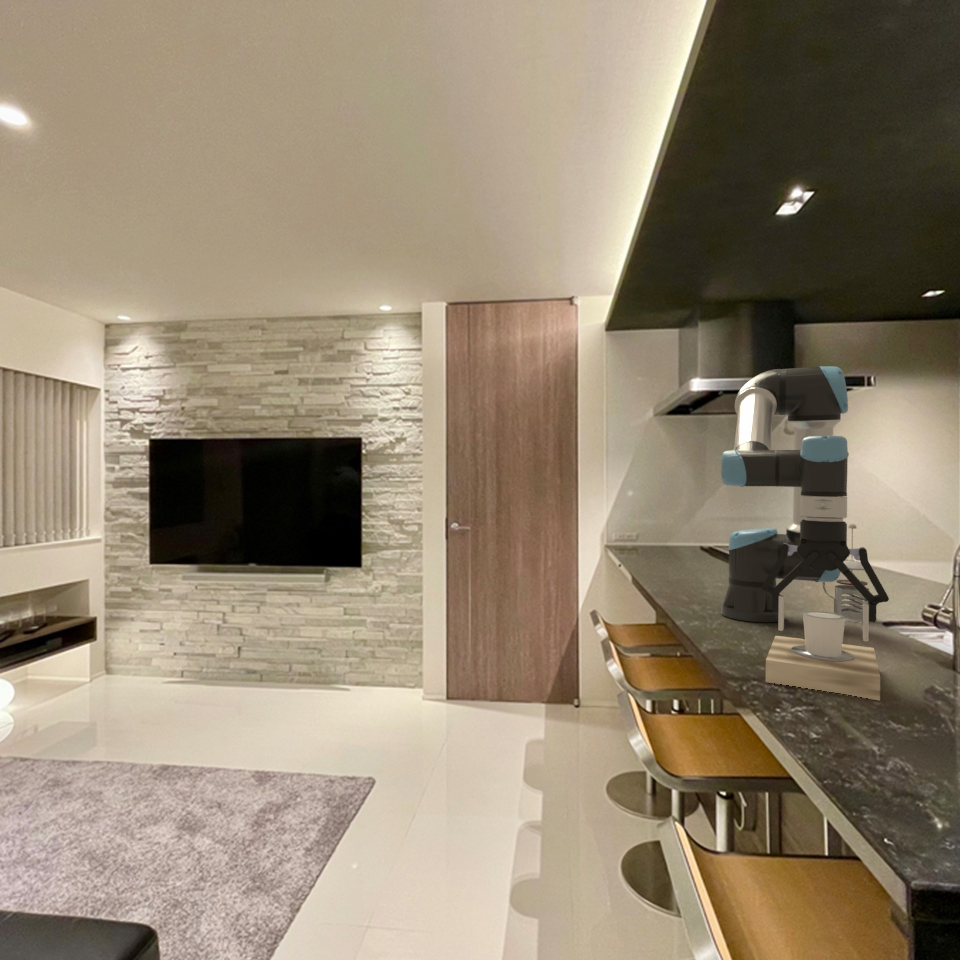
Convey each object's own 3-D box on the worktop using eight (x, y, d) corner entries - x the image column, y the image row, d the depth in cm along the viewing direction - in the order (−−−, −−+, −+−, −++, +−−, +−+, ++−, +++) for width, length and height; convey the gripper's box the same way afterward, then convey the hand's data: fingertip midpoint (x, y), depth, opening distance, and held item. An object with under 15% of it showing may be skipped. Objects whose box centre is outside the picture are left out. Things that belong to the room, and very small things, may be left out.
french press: (878, 624, 154) (879, 525, 154) (826, 620, 158) (827, 524, 158) (868, 616, 163) (869, 523, 163) (819, 612, 167) (820, 521, 167)
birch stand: (775, 655, 125) (775, 634, 125) (873, 668, 116) (873, 646, 116) (765, 682, 108) (765, 658, 108) (880, 700, 99) (880, 675, 99)
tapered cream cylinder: (851, 659, 108) (851, 619, 108) (809, 656, 109) (809, 617, 109) (836, 648, 115) (836, 611, 115) (797, 646, 116) (797, 609, 116)
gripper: (747, 517, 115) (746, 629, 115) (907, 523, 103) (906, 649, 103) (752, 515, 122) (751, 621, 122) (903, 521, 109) (902, 639, 109)
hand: (822, 634), depth 112 cm, fingers open, 13 cm apart
